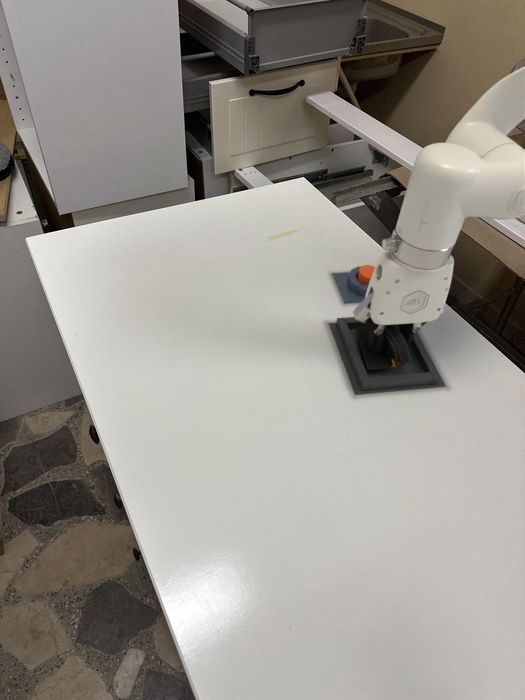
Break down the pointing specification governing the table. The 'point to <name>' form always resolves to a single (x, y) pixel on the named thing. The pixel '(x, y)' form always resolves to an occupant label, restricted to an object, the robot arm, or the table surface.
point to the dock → (383, 380)
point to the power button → (365, 274)
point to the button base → (350, 286)
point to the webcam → (384, 349)
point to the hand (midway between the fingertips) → (387, 345)
